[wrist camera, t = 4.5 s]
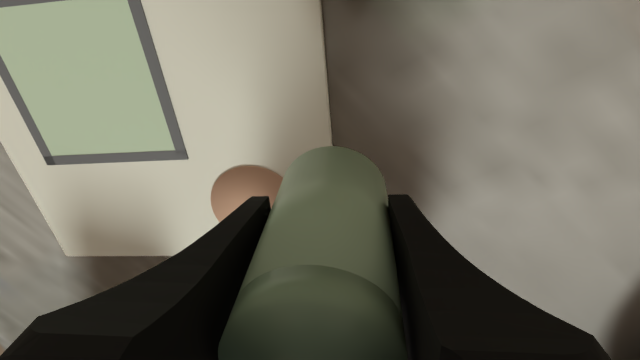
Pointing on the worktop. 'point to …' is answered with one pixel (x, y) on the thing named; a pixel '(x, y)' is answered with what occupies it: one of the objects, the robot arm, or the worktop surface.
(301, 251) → the sage marker
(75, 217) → the picture board
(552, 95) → the worktop surface
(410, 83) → the worktop surface
